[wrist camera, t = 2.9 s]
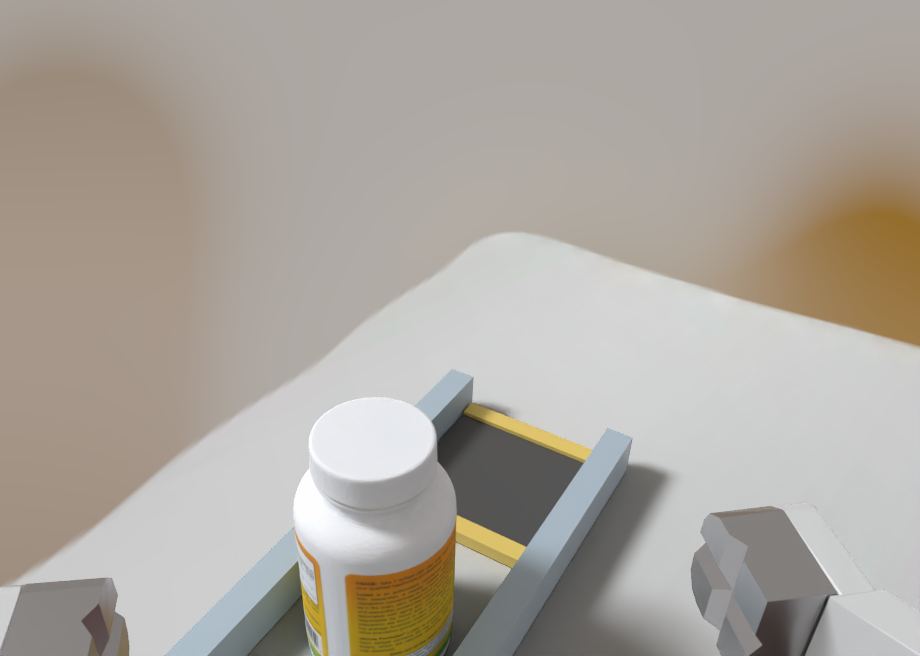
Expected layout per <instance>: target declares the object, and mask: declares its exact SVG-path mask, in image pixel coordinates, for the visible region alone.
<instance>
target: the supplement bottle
mask: <svg viewBox="0 0 920 656" xmlns="http://www.w3.org/2000/svg"><path fill="white" fill-rule="evenodd" d="M293 515H294V530H295V538H296V546H297V554H298V562H299V570H300V581H301V588H302V598H303V606H304V615H305V625H306V631H307V637H308V642H309V646H310V650H311V652H312V655H313V656H444V654H445V652H446V650H447V648H448V645H449V642H450V639H451V634H452V626H453V602H454V572H455V543H456V517H457V507H456V495H455V490H454V487H453V484H452V482H451V479H450V478H449V476H448V474H447V472H446V471H445V470H444V468H443V467H442V466H441V465H440V464H439V463H438V462H437V434H436V430H435V427H434V425H433V423H432V422H431V420H430V419H429V417H428V416H427V415H426V414H425V413H424V412H422V411H421V410H420V409H418V408H417V407H415V406H413V405H411V404H409V403H407V402H404V401H400V400H397V399H392V398H384V397H367V398H359V399H355V400H350V401H347V402H344V403H342V404H339V405H337V406H335V407H333V408H332V409H330V410H329V411H327V412H326V413H325V414H323V415H322V416H321V417H320V418H319V419H318V420H317V422H316V423H315V425H314V426H313V428H312V431H311V433H310V437H309V470H308V471H307V472H306V474H305V475H304V477H303V478H302V480H301V482H300V484H299V486H298V489H297V492H296V495H295V500H294V505H293Z"/></svg>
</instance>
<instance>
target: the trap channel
mask: <svg viewBox="0 0 920 656" xmlns="http://www.w3.org/2000/svg"><path fill="white" fill-rule="evenodd" d="M472 394H473V377H472V376H469V375H466V374H464V373H461V372H458V371H456V370H453V369H452V370H451V371H450V372H449V373H448V374H447V375H446V376H445V377H444V378H443V379H442V380H441V381H440V382H439V383H438V384H437V385H436V386H435V387H434V388H433V389H432V390H431V391H430V392H429V393H428V394H427V395H426V396H425V397H424V398H423V399H422V400H421V401H420V402H419V403H418V404H417V405H416V406H415V407H417V408H418V409H420V410H421V411H422V412H424V413H425V414H426V415H427V416H428V417H429V419H430V420H431V422H432V423H433V425H434V427H435V430H436V434H437V462H438V463H439V464H440V465H441V466H442V467H443V468H444V470H445V471H446V472H447V474H448V476H449V478H450V479H451V482H452V484H453V487H454V490H455V495H456V507H457V517H456V542H458V543H460V544H462V545H464V546H466V547H469V548H471V549H473V550H475V551H477V552H479V553H481V554H483V555H485V556H488V557H490V558H492V559H494V560H496V561H498V562H500V563H502V564H504V565H507V566H509V567H511V568H512V569H511V571H510V572H509V574H508V575H507V577H506V578H505V580H504V581H503V583H502V584H501V585H500V587H499V588H498V590H497V591H496V593H495V594H494V596H493V597H492V599H491V600H490V602H489V603H488V605H487V606H486V607H485V609H484V610H483V612H482V613H481V615H480V616H479V618H478V619H477V621H476V622H475V624H474V625H473V627H472V628H471V629H470V631H469V632H468V634H467V635H466V637H465V638H464V640H463V641H462V643H461V644H460V646H459V647H458V649H457V650H456V651H455V653H454V654H453V656H513V654H514V652H515V651H516V649H517V648H518V646H519V644H520V643H521V641H522V639H523V638H524V636H525V635H526V633H527V631H528V630H529V628H530V626H531V625H532V623H533V621H534V620H535V618H536V617H537V615H538V613H539V612H540V610H541V608H542V607H543V605H544V604H545V602H546V600H547V599H548V597H549V595H550V594H551V592H552V591H553V589H554V587H555V586H556V584H557V582H558V581H559V579H560V578H561V576H562V574H563V573H564V571H565V569H566V568H567V566H568V565H569V563H570V561H571V560H572V558H573V556H574V555H575V553H576V552H577V550H578V548H579V547H580V545H581V543H582V542H583V540H584V539H585V537H586V535H587V534H588V532H589V530H590V529H591V527H592V525H593V524H594V522H595V521H596V519H597V517H598V516H599V514H600V512H601V511H602V509H603V508H604V506H605V504H606V503H607V501H608V499H609V498H610V496H611V495H612V493H613V491H614V490H615V488H616V486H617V485H618V483H619V482H620V480H621V478H622V477H623V475H624V473H625V472H626V469H627V464H628V459H629V454H630V449H631V443H632V437H629V436H626V435H624V434H621V433H619V432H616V431H613V430H611V429H608V428H607V430H606V431H605V433H604V434H603V436H602V437H601V439H600V440H599V442H598V443H597V445H596V446H595V448H594V449H593V450H591V449H589V448H586V447H584V446H581V445H578V444H576V443H573V442H571V441H568V440H566V439H563V438H561V437H558V436H556V435H553V434H551V433H548V432H546V431H543V430H540V429H538V428H535V427H533V426H530V425H528V424H525V423H523V422H520V421H518V420H515V419H513V418H510V417H508V416H505V415H503V414H500V413H497V412H495V411H492V410H490V409H487V408H485V407H482V406H480V405H477V404H475V403H472ZM301 596H302V588H301V581H300V570H299V562H298V554H297V546H296V538H295V530H294V527H293V528H292V529H291V530H290V531H289V532H288V533H287V534H286V535H285V536H284V537H283V538H282V539H281V540H280V541H279V542H278V543H277V544H276V545H275V546H274V547H273V548H272V549H271V550H270V551H269V552H268V553H267V554H266V555H265V556H264V557H263V558H262V559H261V560H260V561H259V562H258V563H257V564H256V565H255V566H254V567H253V568H252V569H251V570H250V571H249V572H248V573H247V574H246V575H245V576H244V577H243V578H242V579H241V580H240V581H239V582H238V583H237V584H236V585H235V586H234V587H233V588H232V589H231V590H230V591H229V592H228V593H227V594H226V595H225V596H224V597H223V598H222V599H221V600H220V601H219V602H218V603H217V604H216V605H215V606H214V607H213V608H212V609H211V610H210V611H209V612H208V613H207V614H206V615H205V616H204V617H203V618H202V619H201V620H200V621H199V622H198V623H197V624H196V625H195V626H194V627H193V628H192V629H191V630H190V631H189V632H188V633H187V634H186V635H185V636H184V637H183V638H182V639H181V640H180V641H179V642H178V643H177V644H176V645H175V646H174V647H173V648H172V649H171V650H170V651H169V652H168V653H167V654H166V655H165V656H247V655H248V654H249V653H250V652H251V650H252V649H253V648H254V647H255V646H256V645H257V644H258V643H259V642H260V641H261V640H262V638H263V637H264V636H265V635H266V634H267V633H268V632H269V631H270V630H271V629H272V627H273V626H274V625H275V624H276V623H277V622H278V621H279V620H280V619H281V618H282V616H283V615H284V614H285V613H286V612H287V611H288V610H289V609H290V608H291V607H292V606H293V604H294V603H295V602H296V601H297V600H298V599H299V598H300V597H301Z"/></svg>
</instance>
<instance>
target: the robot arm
mask: <svg viewBox="0 0 920 656" xmlns="http://www.w3.org/2000/svg"><path fill="white" fill-rule="evenodd" d="M701 534H702V536H703V538H704V540H705V542H706V543H705V544H704V545H703V546H702V547H701V548H700V549H699V550H698V551H697V552H695V553H694V558H693V562H692V567H691V579H692V589H693V593H694V596H695V600H696V603H697V605H698V608H699V610H700V612H701V614H702V616H703V618H704V619H705V620H706V621H708V622H709V623H711V624H712V625H713V626H715V627H716V628H717V629H719V630H720V633H719V637H718V641H717V645H716V646H717V648H718V650H719V652H720V654H721V656H920V611H919V610H917V609H915V608H914V607H912V606H910V605H909V604H907V603H906V602H904V601H902V600H901V599H899V598H897V597H896V596H894V595H892V594H891V593H889V592H888V591H886V590H874V589H873V587H872V586H871V584H870V583H869V582H868V580H867V579H866V577H865V576H864V574H863V573H862V572H861V570H860V569H859V567H858V566H857V565H856V563H855V562H854V560H853V559H852V558H851V556H850V555H849V553H848V552H847V550H846V549H845V548H844V546H843V545H842V543H841V542H840V541H839V539H838V538H837V536H836V535H835V533H834V532H833V531H832V529H831V528H830V526H829V525H828V524H827V522H826V521H825V519H824V518H823V517H822V515H821V514H820V512H819V511H818V510H817V508H816V507H814V506H813V505H811V504H810V503H800V504H790V505H781V506H775V507H772V506H767V507H759V508H751V509H742V510H734V511H725V512H717V513H710V514H709V515H708V516H707V517H706V518H705V519H704V522H703V525H702V529H701ZM117 596H118V595H117V592H116V589H115V586H114V583H113V580H112V578H96V579H84V580H71V581H59V582H46V583H34V584H26V585H15V586H4V587H0V656H129V640H128V632H127V627H126V623H125V619H124V617H122V616H121V615H119V614H118V613H116V612H115V607H116V601H117Z"/></svg>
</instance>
